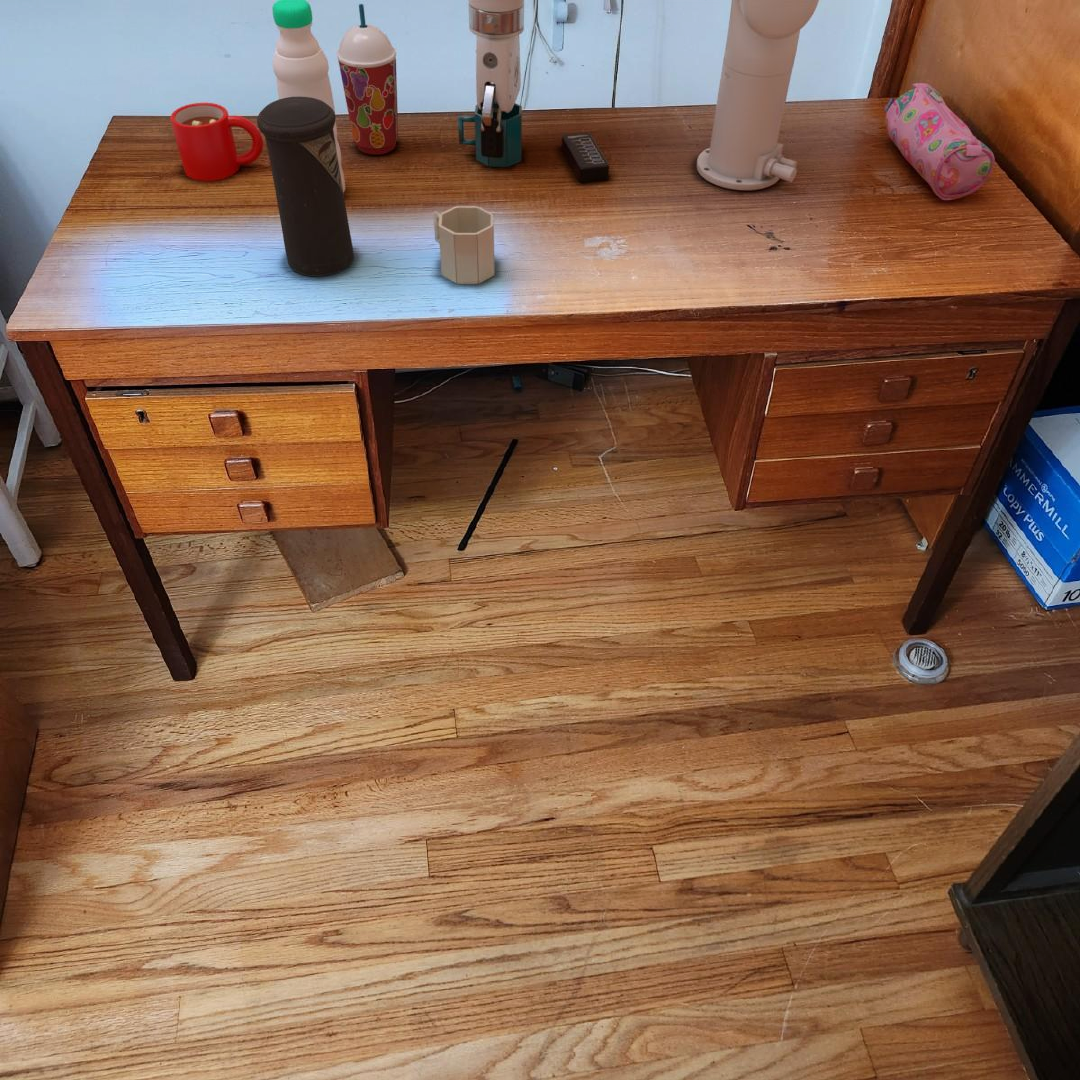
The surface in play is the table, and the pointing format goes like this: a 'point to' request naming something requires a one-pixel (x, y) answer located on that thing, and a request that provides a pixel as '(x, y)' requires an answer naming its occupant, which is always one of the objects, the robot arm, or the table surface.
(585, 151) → the multiport hub
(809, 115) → the table surface
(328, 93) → the water bottle
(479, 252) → the cup near
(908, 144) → the pencil case
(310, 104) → the container
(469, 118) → the cup far
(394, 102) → the smoothie
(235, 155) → the mug
